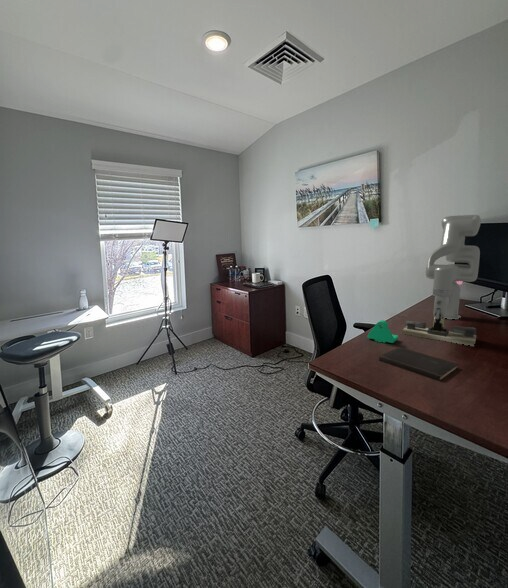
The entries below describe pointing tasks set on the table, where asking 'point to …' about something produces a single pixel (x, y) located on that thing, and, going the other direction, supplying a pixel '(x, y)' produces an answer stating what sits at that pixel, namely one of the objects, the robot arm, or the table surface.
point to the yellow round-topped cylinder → (441, 322)
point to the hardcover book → (419, 363)
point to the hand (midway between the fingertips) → (438, 328)
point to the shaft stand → (441, 333)
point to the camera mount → (382, 333)
